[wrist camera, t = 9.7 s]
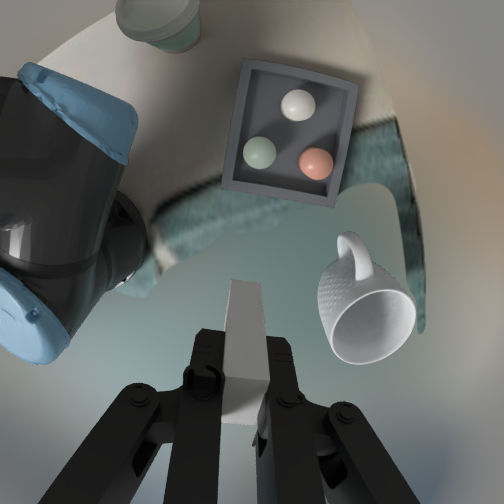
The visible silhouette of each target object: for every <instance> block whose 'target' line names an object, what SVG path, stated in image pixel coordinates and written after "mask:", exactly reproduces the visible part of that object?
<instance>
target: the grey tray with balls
mask: <svg viewBox="0 0 504 504" xmlns="http://www.w3.org/2000/svg"><path fill="white" fill-rule="evenodd" d="M297 89H299V90H304V91H306V92H308V93H309V94H311V96H312V97H313V98H314V101H315V111H314V113H313V115H312V116H311V117H310V118H308V119H306V120H302V121H297V122H293V121H289V120H287V119H286V118H285V117H284V116H283V115H282V114H281V112H280V102H281V100H282V99H283V97H284V96H285V95H287V94H288V93H289V92H290V91H293V90H297ZM358 90H359V84H356V83H353V82H350V81H346V80H343V79H340V78H336V77H333V76H329V75H325V74H322V73H318V72H314V71H310V70H305V69H301V68H297V67H292V66H287V65H282V64H277V63H272V62H266V61H260V60H254V59H247V58H243V61H242V66H241V71H240V76H239V81H238V87H237V92H236V98H235V103H234V109H233V114H232V120H231V126H230V132H229V138H228V144H227V150H226V156H225V163H224V169H223V176H222V182H221V189H226V190H233V191H239V192H246V193H252V194H258V195H264V196H270V197H276V198H282V199H287V200H293V201H299V202H304V203H309V204H315V205H320V206H325V207H330V208H335V203H336V199H337V195H338V191H339V186H340V182H341V178H342V173H343V169H344V164H345V159H346V154H347V150H348V145H349V140H350V135H351V129H352V124H353V119H354V113H355V108H356V102H357V96H358ZM253 137H265V138H267V139H269V140H270V141H271V142H272V143H273V144H274V146H275V148H276V158H275V160H274V162H273V163H272V164H271V165H270V166H268V167H267V168H264V169H256V168H253V167H251V166H249V165H248V164H247V163H246V161H245V159H244V156H243V149H244V146H245V144H246V142H247V141H248V140H249V139H251V138H253ZM308 147H315V148H320V149H323V150H325V151H327V152H328V153H329V154H330V155H331V157H332V160H333V169H332V171H331V173H330V174H329V175H328V176H327V177H326V178H324V179H321V180H315V179H312V178H310V177H308V176H307V175H305V174H304V173H303V172H302V171H301V170H300V169H299V167H298V163H297V159H298V156H299V154H300V152H301V151H302V150H304V149H305V148H308Z"/></svg>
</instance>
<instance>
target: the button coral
mask: <svg viewBox="0 0 504 504" xmlns="http://www.w3.org/2000/svg"><path fill="white" fill-rule="evenodd" d="M297 163H298V167H299V169H300V170H301V171H302V172H303V173H304V174H305V175H307V176H308V177H310V178H312V179H315V180H321V179H324V178H326V177H327V176H328V175H329V174H330V173H331V171H332V169H333V160H332V157H331V155H330V154H329V153H328V152H327V151H325V150H323V149H320V148H315V147H308V148H305V149H304V150H302V151H301V152H300V154H299V156H298V159H297Z"/></svg>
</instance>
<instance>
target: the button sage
mask: <svg viewBox="0 0 504 504" xmlns="http://www.w3.org/2000/svg"><path fill="white" fill-rule="evenodd" d="M243 156H244V159H245V161H246V163H247V164H248V165H249V166H251V167H253V168H256V169H264V168H267V167H268V166H270V165H271V164H272V163H273V162H274V160H275V158H276V148H275V146H274V144H273V143H272V142H271V141H270V140H269V139H267V138H265V137H253V138H251V139H249V140H248V141H247V142H246V144H245V146H244V149H243Z"/></svg>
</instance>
